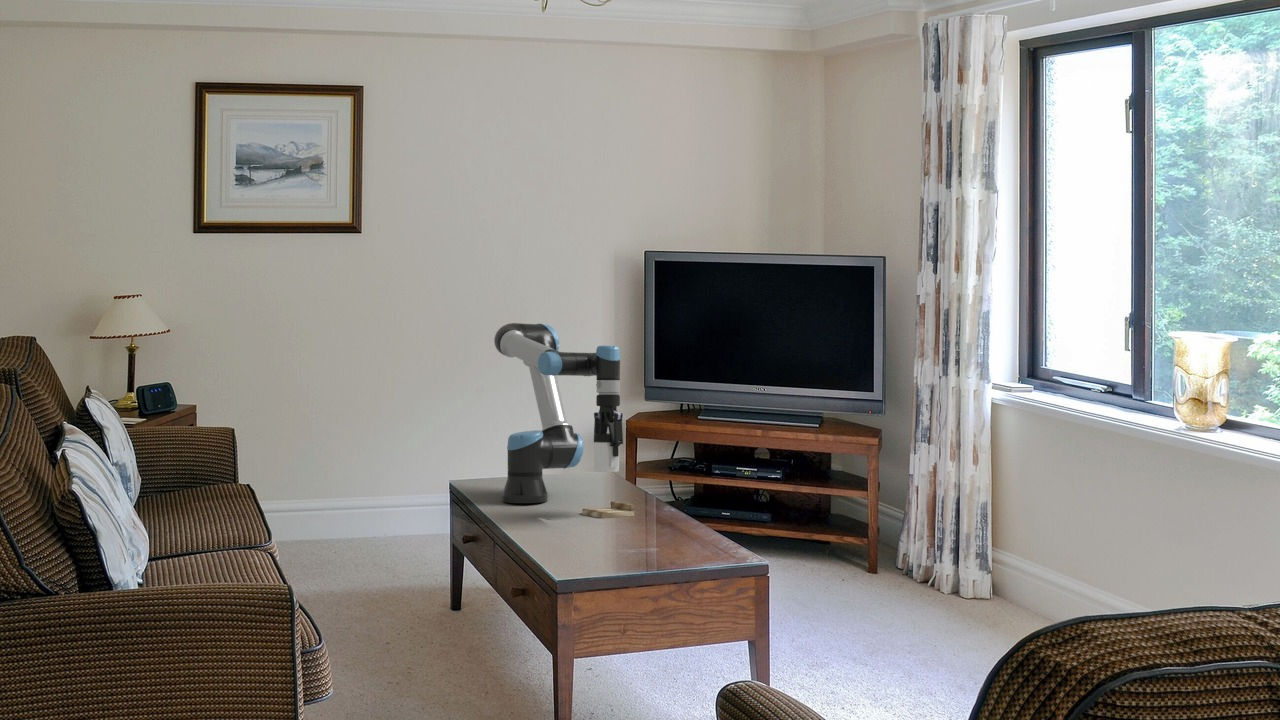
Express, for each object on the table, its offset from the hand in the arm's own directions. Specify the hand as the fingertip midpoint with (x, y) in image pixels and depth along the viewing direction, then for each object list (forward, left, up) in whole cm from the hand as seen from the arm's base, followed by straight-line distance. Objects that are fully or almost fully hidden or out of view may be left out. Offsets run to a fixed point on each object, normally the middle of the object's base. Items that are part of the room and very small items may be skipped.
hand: (608, 466), depth 348 cm
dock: (0, 0, -16) cm, 16 cm away
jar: (-1, 0, -2) cm, 2 cm away
